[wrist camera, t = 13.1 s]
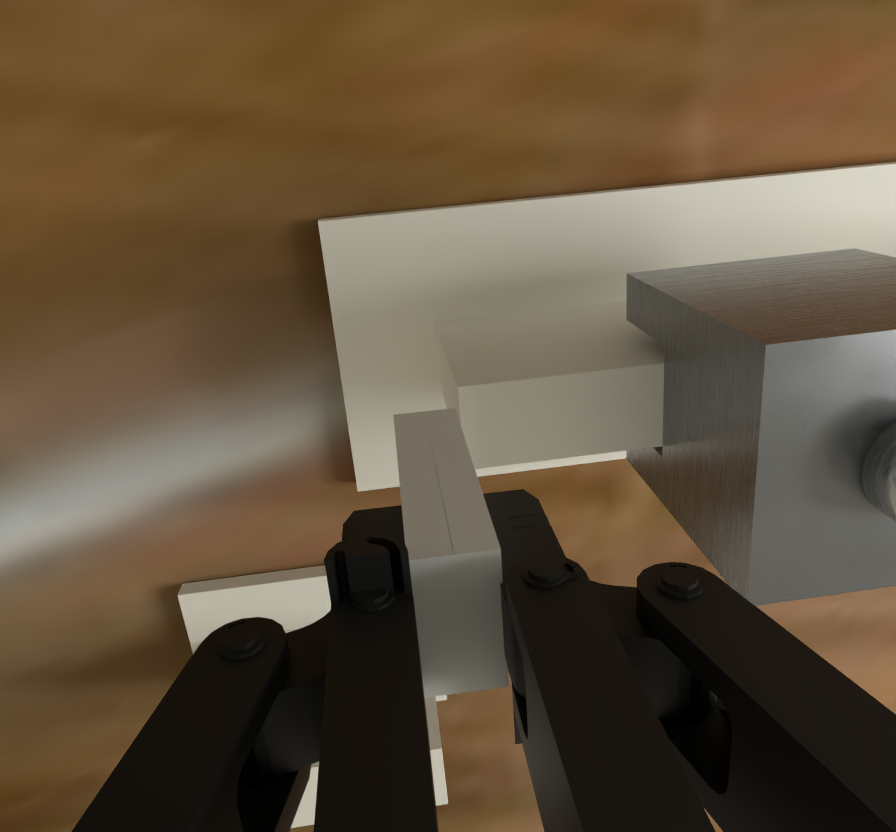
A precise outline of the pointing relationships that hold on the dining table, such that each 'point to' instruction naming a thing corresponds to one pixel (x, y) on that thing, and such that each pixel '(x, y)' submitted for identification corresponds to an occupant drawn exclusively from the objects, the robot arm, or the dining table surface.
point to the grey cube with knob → (778, 417)
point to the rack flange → (553, 306)
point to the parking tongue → (293, 606)
